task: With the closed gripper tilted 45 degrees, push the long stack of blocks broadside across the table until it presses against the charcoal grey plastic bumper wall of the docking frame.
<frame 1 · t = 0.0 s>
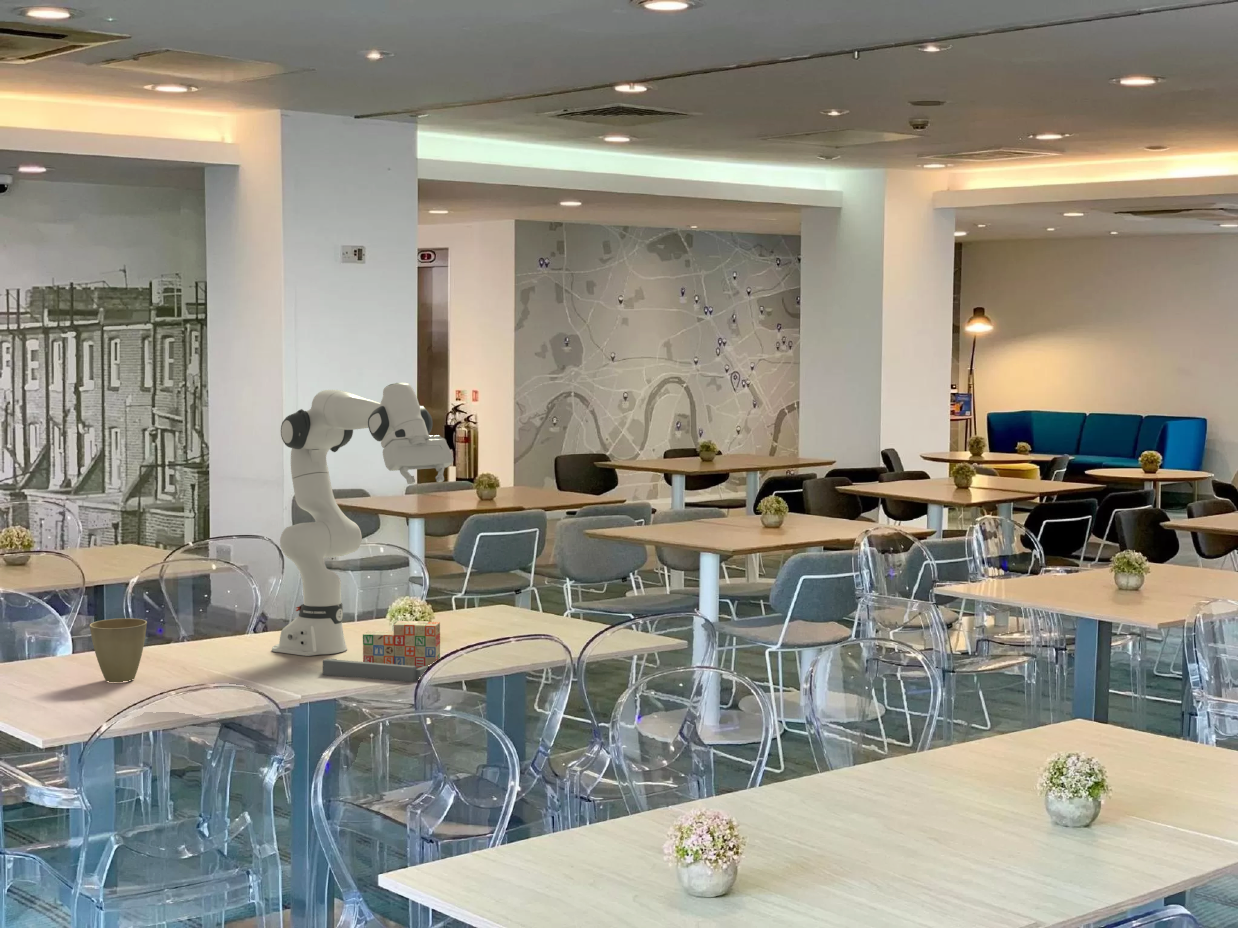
hand: (426, 482, 418), 54 cm above the table, tool tilted 30°, fingers open, 8 cm apart
stack of blocks: (401, 665, 444), on the table
plant pot: (119, 681, 422), on the table
docking frame: (378, 673, 431), on the table
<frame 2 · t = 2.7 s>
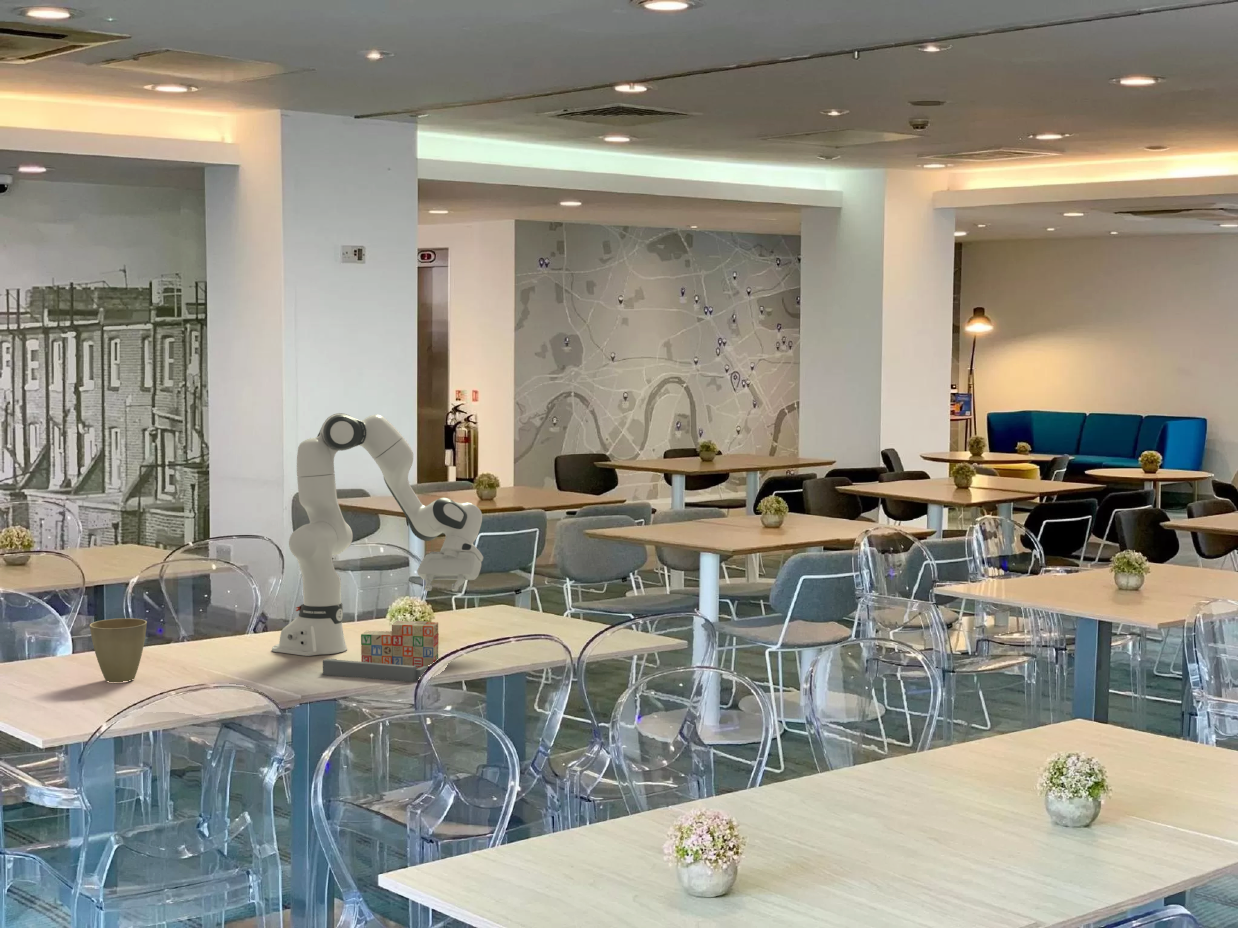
hand: (440, 589, 461), 19 cm above the table, tool tilted 40°, fingers open, 8 cm apart
nothing on the table moved.
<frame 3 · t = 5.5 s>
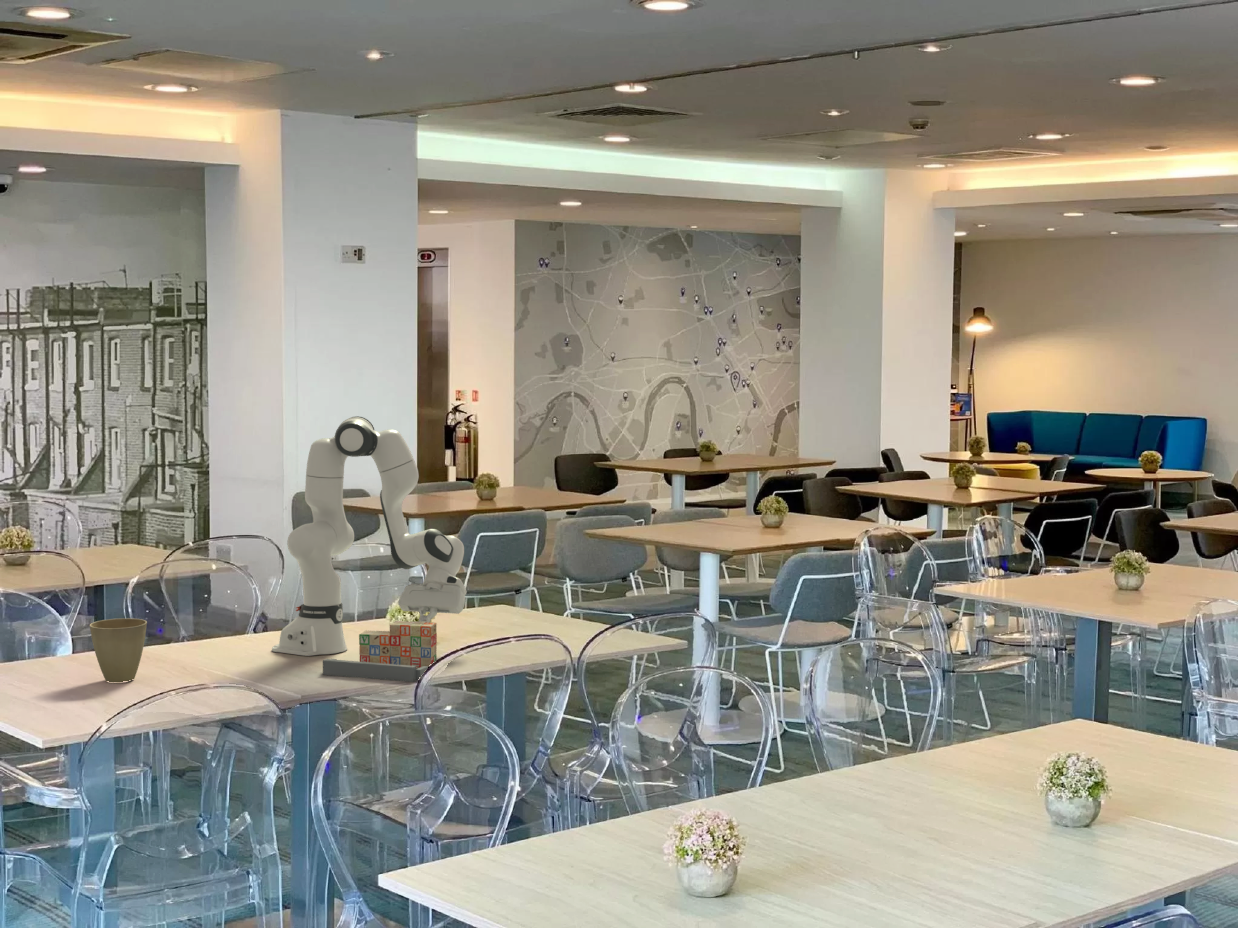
hand: (423, 622, 455), 10 cm above the table, tool tilted 45°, fingers closed
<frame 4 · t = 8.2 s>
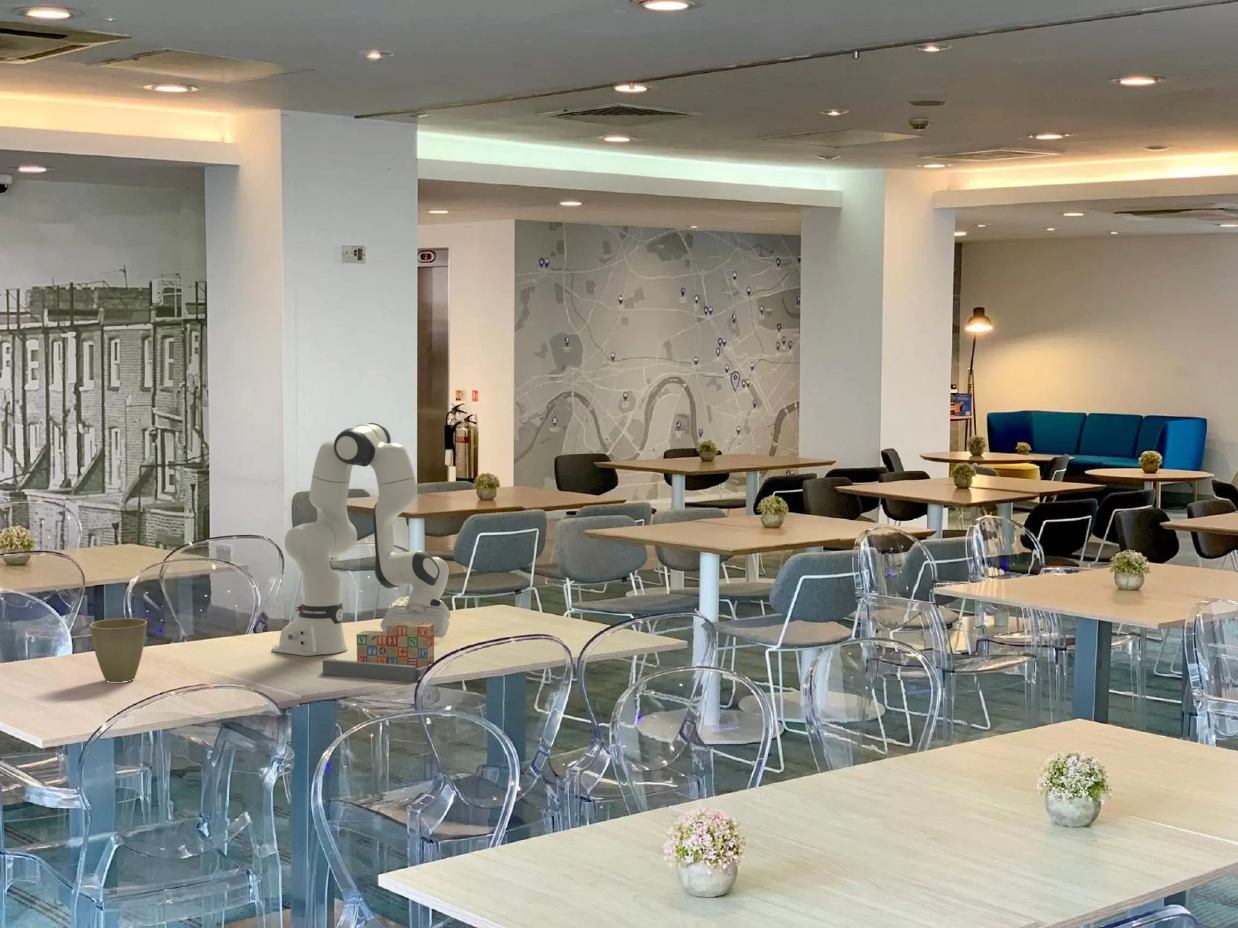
hand: (406, 645, 446), 5 cm above the table, tool tilted 45°, fingers closed
stack of blocks: (395, 666, 443), on the table, touching gripper
everything else where it was.
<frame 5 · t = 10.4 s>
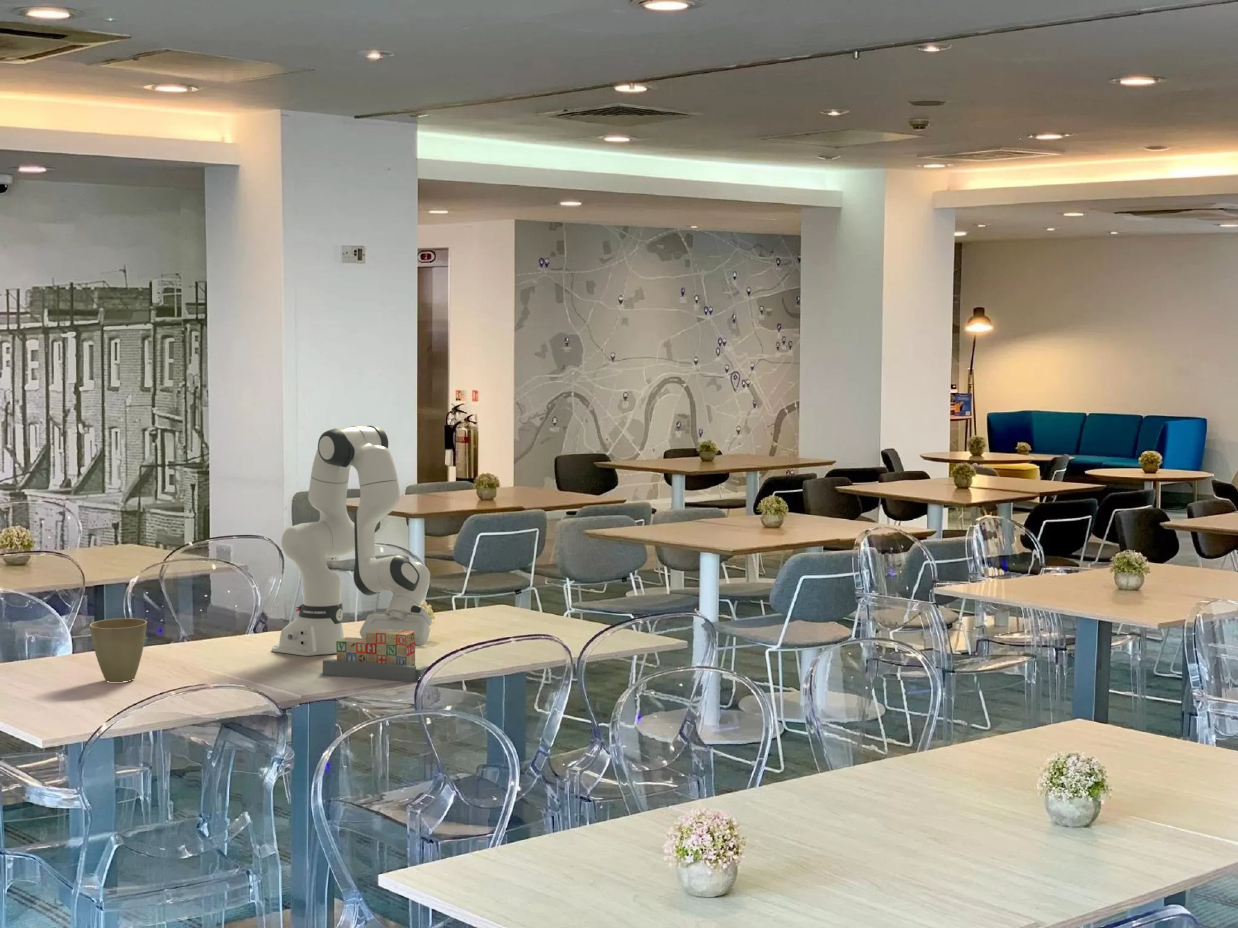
hand: (385, 653, 434), 5 cm above the table, tool tilted 45°, fingers closed
stack of blocks: (376, 674, 431), on the table, touching gripper
everything else where it was.
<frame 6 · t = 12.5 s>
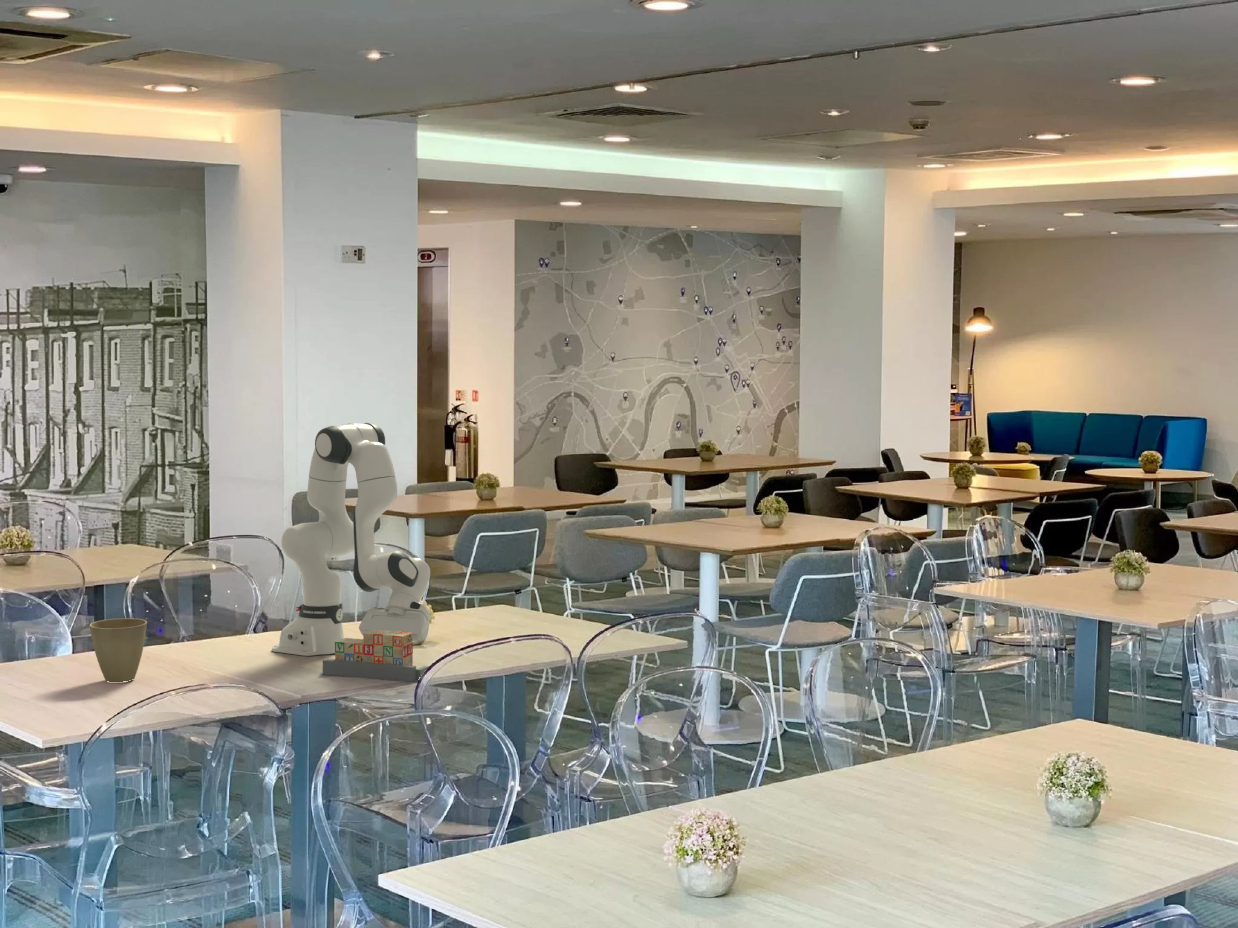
hand: (384, 649, 435), 6 cm above the table, tool tilted 45°, fingers closed
stack of blocks: (374, 675, 430), on the table
everything else where it was.
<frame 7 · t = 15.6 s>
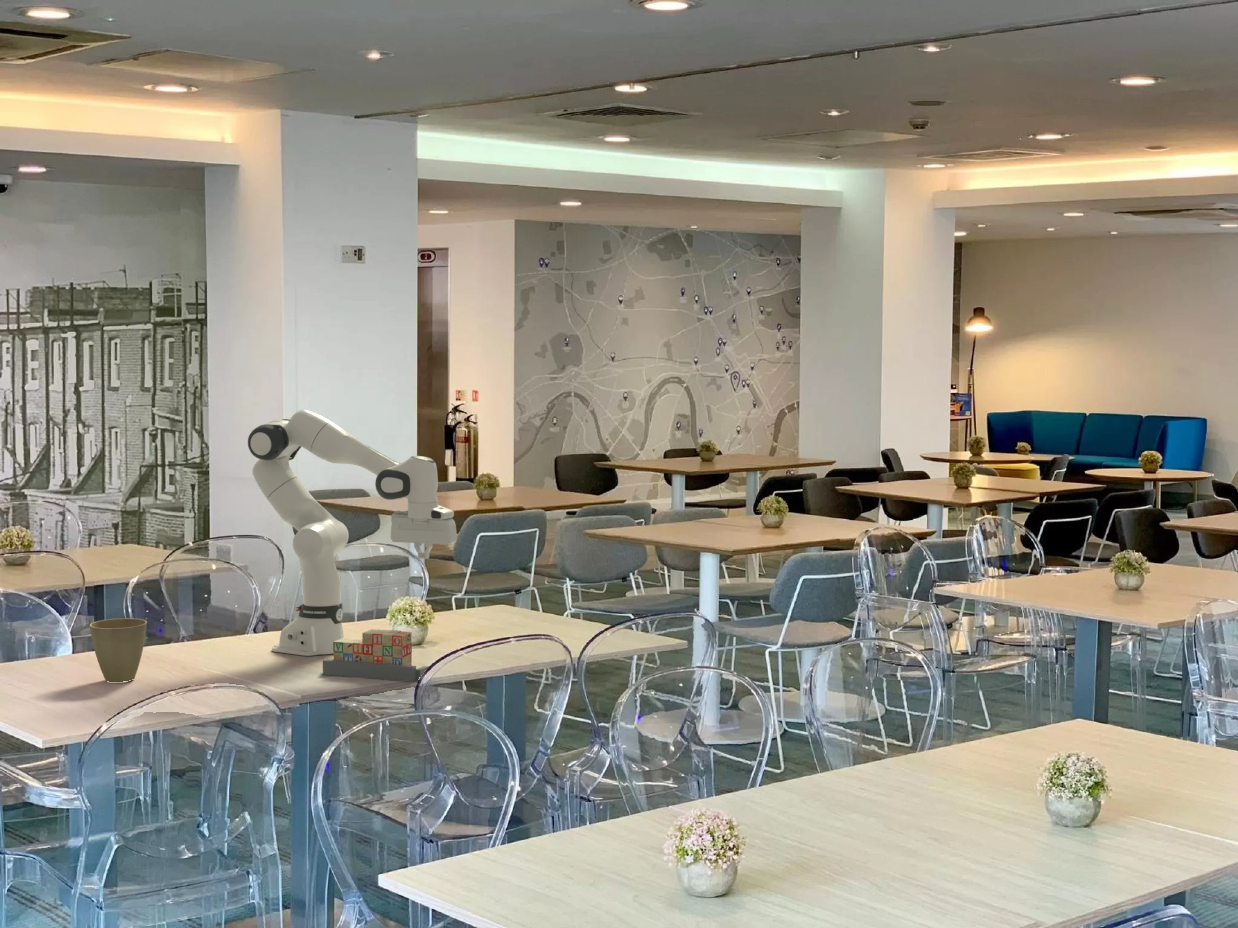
hand: (423, 558, 452), 29 cm above the table, tool pointing down, fingers closed
nothing on the table moved.
at the end: stack of blocks inside the target area (1.4 cm from its centre), on the table; stack of blocks tilted 0° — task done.
